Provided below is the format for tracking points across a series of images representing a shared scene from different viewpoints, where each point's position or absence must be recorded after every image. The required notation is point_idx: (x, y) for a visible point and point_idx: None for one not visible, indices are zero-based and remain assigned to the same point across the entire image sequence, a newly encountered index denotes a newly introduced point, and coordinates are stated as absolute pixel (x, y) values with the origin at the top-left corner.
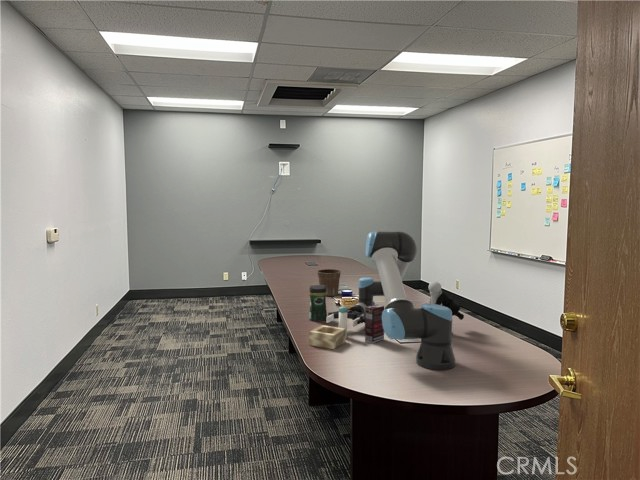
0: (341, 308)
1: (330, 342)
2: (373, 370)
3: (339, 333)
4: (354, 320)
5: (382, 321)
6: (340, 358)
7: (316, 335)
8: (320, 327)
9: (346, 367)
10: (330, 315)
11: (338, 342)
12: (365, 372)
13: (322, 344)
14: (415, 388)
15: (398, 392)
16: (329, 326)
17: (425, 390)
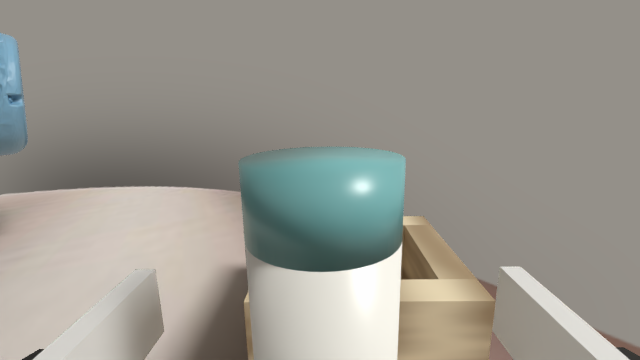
0: (320, 147)
1: None
2: (115, 224)
3: None
4: (131, 279)
5: (22, 95)
6: (226, 241)
7: None
8: (441, 263)
9: (198, 218)
10: (575, 329)
11: None
12: (143, 216)
13: None
14: (33, 206)
15: (85, 195)
16: (405, 296)
17: (12, 206)
